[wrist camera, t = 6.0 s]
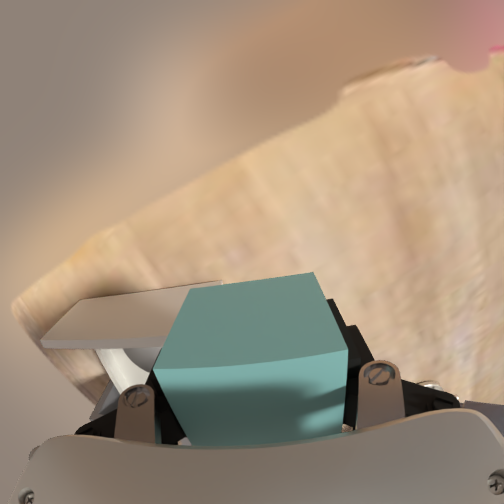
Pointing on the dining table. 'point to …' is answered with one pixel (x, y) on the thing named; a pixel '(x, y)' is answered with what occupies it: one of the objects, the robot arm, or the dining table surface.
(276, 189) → the dining table surface
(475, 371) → the dining table surface
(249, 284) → the teal block
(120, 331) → the tray
